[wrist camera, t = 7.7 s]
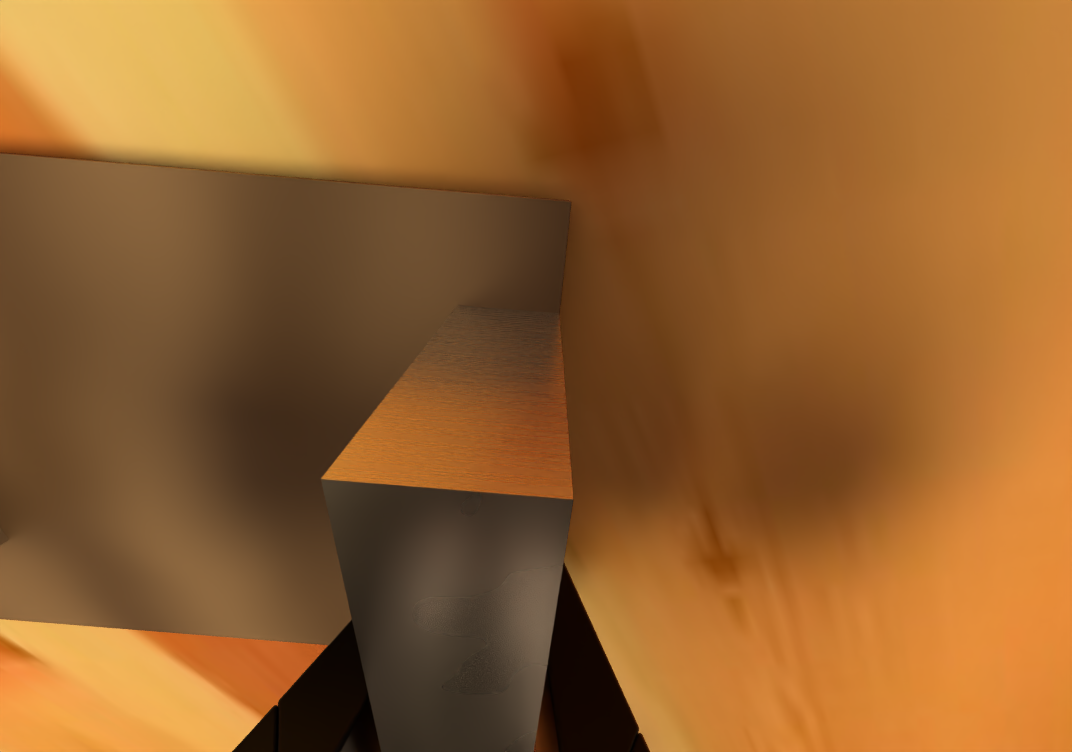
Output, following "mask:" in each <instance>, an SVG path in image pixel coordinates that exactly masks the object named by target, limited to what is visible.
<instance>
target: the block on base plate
mask: <svg viewBox="0 0 1072 752" xmlns="http://www.w3.org/2000/svg"><path fill="white" fill-rule="evenodd" d="M570 210H571V201H569V200H557V199H546V198H534V197H522V196H510V195H498V194H486V193H475V192H463V191H451V190H439V189H427V188H415V187H404V186H392V185H380V184H368V183H356V182H344V181H333V180H321V179H309V178H297V177H285V176H273V175H262V174H250V173H238V172H226V171H214V170H202V169H191V168H179V167H167V166H155V165H143V164H132V163H120V162H108V161H96V160H84V159H72V158H61V157H49V156H37V155H25V154H13V153H1V152H0V529H1V530H2V531H3V533H4V534H5V535H6V536H7V538H8V539H9V540H8V541H7V542H5V543H3V544H2V545H0V619H7V620H19V621H32V622H44V623H57V624H69V625H82V626H95V627H107V628H120V629H132V630H145V631H157V632H170V633H182V634H195V635H208V636H220V637H233V638H245V639H258V640H270V641H283V642H295V643H308V644H320V645H329V644H330V643H331V642H332V641H333V640H334V639H335V637H336V636H337V635H338V634H339V633H340V632H341V631H342V630H343V629H344V627H345V626H346V625H347V624H348V623H349V622H350V621H351V620H352V622H353V627H354V631H355V636H356V640H357V645H358V649H359V654H360V658H361V663H362V667H363V672H364V676H365V681H366V685H367V690H368V694H369V699H370V703H371V708H372V712H373V717H374V721H375V726H376V730H377V735H378V740H379V744H380V749H381V752H534V746H535V740H536V734H537V727H538V721H539V715H540V708H541V702H542V696H543V689H544V683H545V677H546V670H547V664H548V658H549V651H550V645H551V639H552V632H553V626H554V620H555V613H556V607H557V601H558V594H559V588H560V582H561V575H562V569H563V563H564V556H565V550H566V544H567V537H568V531H569V525H570V518H571V512H572V506H573V487H572V474H571V460H570V447H569V434H568V421H567V407H566V394H565V381H564V367H563V354H562V341H561V327H560V314H559V313H560V304H561V294H562V285H563V276H564V266H565V257H566V247H567V238H568V229H569V219H570Z"/></svg>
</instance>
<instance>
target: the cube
mask: <svg viewBox="0 0 1072 752" xmlns="http://www.w3.org/2000/svg"><path fill="white" fill-rule="evenodd" d="M8 540H9V539H8V538H7V536H6V535H5V534H4V533H3V531H2V530H1V529H0V545H2V544H3V543H5V542H7V541H8Z"/></svg>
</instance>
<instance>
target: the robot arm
mask: <svg viewBox="0 0 1072 752" xmlns="http://www.w3.org/2000/svg"><path fill="white" fill-rule="evenodd" d="M638 731H639V727H638V725H637V722H636V720H635V718H634V716H633V713H632V711H631V709H630V707H629V705H628V702H627V700H626V698H625V696H624V694H623V691H622V689H621V687H620V685H619V683H618V680H617V678H616V676H615V674H614V672H613V669H612V667H611V665H610V663H609V661H608V658H607V656H606V654H605V652H604V650H603V647H602V645H601V643H600V641H599V638H598V636H597V634H596V632H595V630H594V627H593V625H592V623H591V621H590V619H589V616H588V614H587V612H586V610H585V608H584V605H583V603H582V601H581V599H580V597H579V594H578V592H577V590H576V588H575V586H574V583H573V581H572V579H571V577H570V574H569V572H568V570H567V568H566V566H565V563H563V569H562V575H561V582H560V588H559V594H558V601H557V607H556V613H555V620H554V626H553V632H552V639H551V645H550V651H549V658H548V664H547V670H546V677H545V683H544V689H543V696H542V702H541V708H540V715H539V721H538V727H537V734H536V740H535V750H536V752H650V750H649V748H648V746H647V744H646V742H645V739H644V737H643V735H642V734H641V733H638ZM232 752H381V749H380V744H379V740H378V735H377V730H376V726H375V721H374V717H373V712H372V708H371V703H370V699H369V694H368V690H367V685H366V681H365V676H364V672H363V667H362V663H361V658H360V654H359V649H358V645H357V640H356V636H355V631H354V627H353V622H352V620H351V621H350V622H349V623H348V624H347V625H346V626H345V627H344V629H343V630H342V631H341V632H340V633H339V634H338V635H337V636H336V637H335V639H334V640H333V641H332V642H331V643H330V644H329V645H328V646H327V647H326V649H325V650H324V651H323V652H322V653H321V654H320V655H319V656H318V658H317V659H316V660H315V661H314V662H313V663H312V664H311V665H310V666H309V668H308V669H307V670H306V671H305V672H304V673H303V674H302V675H301V676H300V678H299V679H298V680H297V681H296V682H295V683H294V684H293V685H292V686H291V688H290V689H289V690H288V691H287V692H286V693H285V694H284V695H283V696H282V698H281V699H280V700H279V702H278V706H277V705H275V706H273V707H272V708H271V710H270V711H269V712H268V713H267V714H266V715H265V716H264V717H263V718H262V720H261V721H260V722H259V723H258V724H257V725H256V726H255V727H254V729H253V730H252V731H251V732H250V733H249V734H248V735H247V736H246V737H245V738H244V739H243V740H242V742H241V743H240V744H239V745H238V746H237V747H236V748H235V749H234V750H233V751H232Z"/></svg>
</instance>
